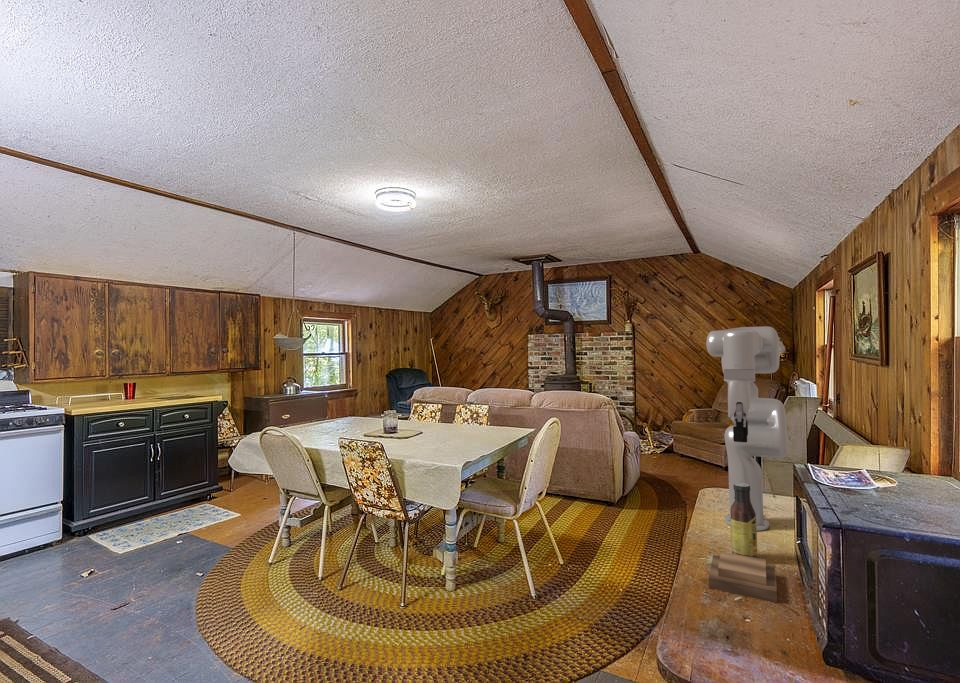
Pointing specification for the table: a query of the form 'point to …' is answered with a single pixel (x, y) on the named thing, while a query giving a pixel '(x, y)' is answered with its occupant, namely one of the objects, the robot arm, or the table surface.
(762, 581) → the pedestal
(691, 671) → the table surface
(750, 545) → the sauce bottle
